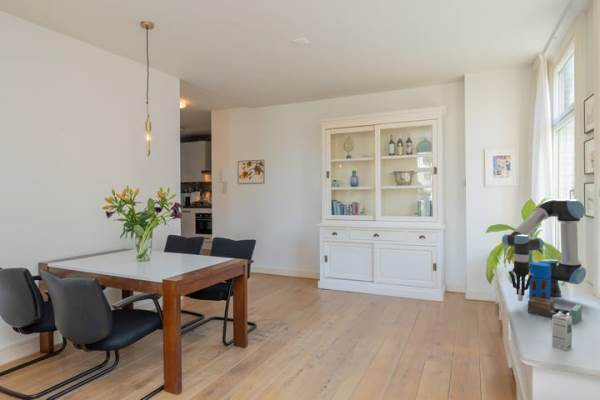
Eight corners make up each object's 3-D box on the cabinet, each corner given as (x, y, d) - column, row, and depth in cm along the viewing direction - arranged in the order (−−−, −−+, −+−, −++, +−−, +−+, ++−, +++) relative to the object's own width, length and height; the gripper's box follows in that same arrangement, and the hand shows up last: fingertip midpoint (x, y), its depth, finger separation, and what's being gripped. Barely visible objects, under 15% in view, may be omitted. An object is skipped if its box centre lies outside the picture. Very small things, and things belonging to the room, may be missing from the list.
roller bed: (533, 308, 217) (533, 303, 217) (575, 317, 203) (575, 311, 203) (528, 312, 210) (528, 307, 210) (570, 322, 195) (570, 316, 195)
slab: (534, 303, 218) (534, 296, 217) (554, 307, 210) (554, 300, 210) (527, 307, 209) (528, 300, 209) (548, 312, 202) (548, 304, 202)
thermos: (553, 307, 219) (554, 266, 218) (533, 306, 221) (534, 265, 220) (544, 302, 229) (546, 262, 229) (526, 301, 232) (527, 261, 231)
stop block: (575, 317, 203) (575, 304, 203) (581, 318, 202) (581, 305, 201) (570, 322, 195) (570, 309, 194) (576, 324, 193) (576, 310, 192)
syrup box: (566, 351, 160) (567, 318, 160) (551, 346, 165) (552, 314, 164) (571, 348, 164) (572, 315, 163) (556, 343, 168) (557, 312, 168)
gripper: (507, 260, 219) (506, 299, 220) (531, 263, 209) (530, 304, 210) (511, 258, 224) (510, 296, 225) (535, 261, 215) (534, 301, 215)
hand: (520, 300), depth 218 cm, fingers closed
